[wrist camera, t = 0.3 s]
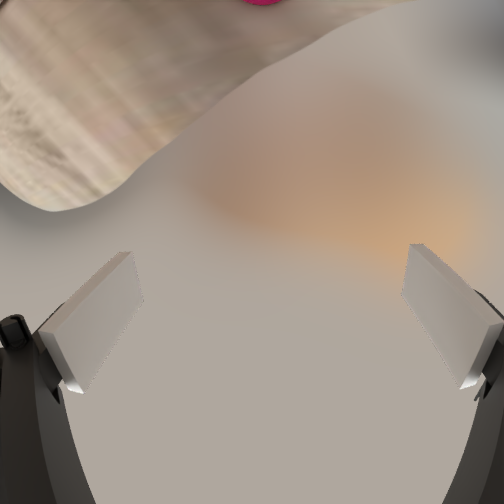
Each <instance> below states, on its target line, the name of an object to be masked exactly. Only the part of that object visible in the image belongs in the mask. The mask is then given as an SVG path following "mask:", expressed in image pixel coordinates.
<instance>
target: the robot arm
mask: <svg viewBox="0 0 504 504" xmlns="http://www.w3.org/2000/svg"><path fill="white" fill-rule="evenodd" d="M401 296H402V297H403V299H404V300H405V302H406V303H407V305H408V306H409V307H410V309H411V310H412V312H413V313H414V315H415V316H416V318H417V319H418V321H419V322H420V324H421V326H422V327H423V329H424V330H425V332H426V333H427V335H428V337H429V338H430V340H431V341H432V343H433V344H434V346H435V348H436V349H437V351H438V353H439V354H440V356H441V357H442V359H443V361H444V363H445V364H446V366H447V367H448V369H449V371H450V373H451V375H452V376H453V378H454V380H455V382H456V383H457V385H458V387H459V389H462V388H466V387H469V386H472V385H475V384H476V382H477V380H478V378H479V377H480V375H481V373H483V374H484V376H485V377H486V379H485V381H484V383H483V385H482V387H481V389H480V390H479V392H478V394H477V395H476V397H475V399H474V401H476V400H477V398H478V397H480V398H479V402H478V406H477V410H476V414H475V418H474V421H473V425H472V428H471V432H470V435H469V438H468V441H467V444H466V447H465V450H464V453H463V456H462V459H461V461H460V464H459V466H458V469H457V472H456V474H455V476H454V479H453V481H452V484H451V486H450V488H449V490H448V493H447V495H446V497H445V499H444V501H443V503H442V504H504V316H503V315H502V314H501V313H500V312H499V311H498V310H497V309H496V308H495V307H494V306H493V305H492V304H491V303H489V301H488V300H487V299H486V298H485V297H484V296H483V295H482V294H481V293H479V292H477V291H476V290H474V289H472V288H471V287H470V286H469V285H468V284H467V283H466V282H465V281H464V280H463V279H462V278H461V277H460V276H459V275H458V274H456V273H455V272H454V271H453V270H452V269H451V268H450V267H449V266H448V265H447V264H446V263H444V262H443V261H442V260H441V259H440V258H439V257H438V256H437V255H435V254H434V253H433V252H432V251H431V250H430V249H428V248H427V247H426V246H425V245H424V244H410V246H409V253H408V260H407V266H406V272H405V278H404V283H403V289H402V293H401ZM143 301H144V300H143V296H142V292H141V288H140V284H139V280H138V275H137V271H136V266H135V261H134V257H133V253H132V252H119V253H117V254H116V255H115V256H114V257H113V258H112V259H111V260H110V261H108V262H107V263H106V264H105V265H104V266H103V267H102V268H101V269H100V270H99V271H98V272H97V273H96V274H94V275H93V276H92V277H91V278H90V279H89V280H88V281H87V282H86V283H85V284H84V285H83V286H82V287H81V288H80V289H79V290H77V291H76V292H75V293H74V294H73V295H72V296H71V297H70V298H69V299H68V300H67V301H66V302H65V303H63V304H61V305H60V306H59V307H58V308H57V309H56V311H54V313H52V314H51V315H50V317H49V319H46V321H45V322H44V323H43V324H42V325H41V326H40V327H39V328H38V329H37V330H36V331H35V332H34V333H33V334H32V335H31V333H30V330H29V328H28V326H27V324H26V322H25V319H24V317H23V316H22V315H19V314H15V315H11V316H9V317H6V318H4V319H3V320H2V321H0V341H1V343H2V345H3V347H4V348H0V504H96V503H95V500H94V498H93V495H92V493H91V491H90V488H89V485H88V483H87V480H86V477H85V475H84V472H83V469H82V466H81V463H80V460H79V457H78V454H77V450H76V447H75V444H74V440H73V437H72V433H71V430H70V425H69V422H68V418H67V413H66V409H65V404H64V399H63V395H62V391H61V389H60V387H59V385H58V384H59V383H60V381H61V380H62V379H63V381H64V382H65V384H66V386H67V388H68V389H69V390H71V391H74V392H78V393H82V394H85V392H86V390H87V389H88V387H89V385H90V384H91V382H92V380H93V379H94V377H95V375H96V374H97V372H98V370H99V369H100V367H101V366H102V364H103V363H104V361H105V359H106V358H107V356H108V355H109V353H110V351H111V350H112V348H113V347H114V345H115V343H116V342H117V340H118V339H119V337H120V336H121V334H122V333H123V331H124V330H125V328H126V327H127V325H128V324H129V322H130V321H131V319H132V318H133V316H134V315H135V313H136V312H137V310H138V309H139V307H140V306H141V304H142V303H143Z"/></svg>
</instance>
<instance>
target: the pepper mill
mask: <svg viewBox="0 0 504 504" xmlns="http://www.w3.org/2000/svg"><path fill="white" fill-rule="evenodd" d="M243 1H246V2H248V3H252V4H256V5H268V4H272V3H276V2H278V1H281V0H243Z"/></svg>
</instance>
